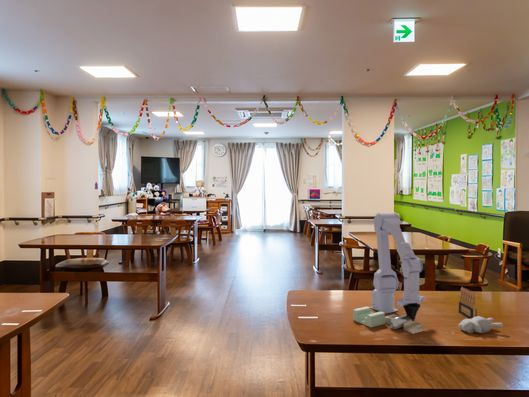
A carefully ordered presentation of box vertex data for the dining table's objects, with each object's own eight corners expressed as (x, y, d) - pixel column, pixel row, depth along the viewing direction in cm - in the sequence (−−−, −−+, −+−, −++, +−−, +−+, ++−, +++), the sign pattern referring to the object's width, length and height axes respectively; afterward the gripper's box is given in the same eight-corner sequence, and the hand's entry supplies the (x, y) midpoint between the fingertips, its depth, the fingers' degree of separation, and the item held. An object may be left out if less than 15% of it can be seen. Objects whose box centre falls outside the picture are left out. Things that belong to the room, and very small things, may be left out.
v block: (352, 320, 163) (353, 309, 163) (366, 316, 167) (366, 306, 167) (370, 327, 155) (371, 316, 155) (384, 323, 159) (384, 313, 159)
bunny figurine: (453, 317, 156) (488, 311, 157) (455, 329, 156) (490, 324, 157) (468, 325, 146) (505, 319, 148) (469, 339, 146) (506, 333, 148)
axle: (389, 329, 154) (387, 318, 155) (405, 325, 159) (402, 315, 160) (397, 329, 151) (395, 318, 152) (412, 324, 156) (410, 314, 157)
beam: (384, 322, 160) (384, 316, 160) (394, 320, 163) (394, 314, 163) (413, 333, 148) (413, 327, 148) (423, 330, 151) (423, 324, 151)
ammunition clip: (476, 320, 163) (477, 292, 163) (472, 320, 163) (473, 292, 162) (462, 312, 174) (462, 285, 173) (458, 312, 174) (458, 285, 173)
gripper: (407, 292, 150) (407, 327, 151) (431, 287, 158) (430, 320, 158) (393, 288, 156) (392, 322, 157) (416, 284, 164) (416, 315, 164)
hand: (410, 321), depth 158 cm, fingers closed
